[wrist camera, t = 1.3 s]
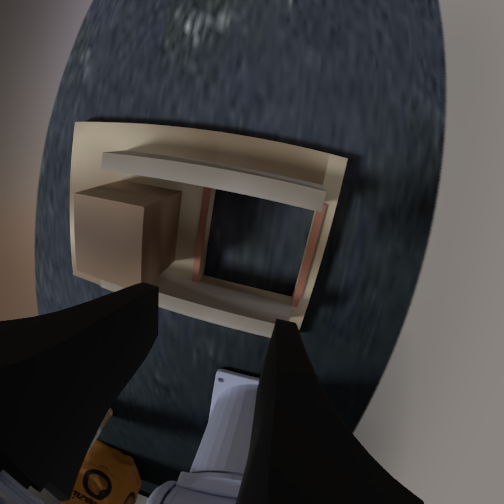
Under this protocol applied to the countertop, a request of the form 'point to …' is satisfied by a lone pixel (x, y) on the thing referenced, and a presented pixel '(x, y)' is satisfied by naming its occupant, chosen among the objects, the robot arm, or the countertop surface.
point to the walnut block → (126, 231)
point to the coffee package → (106, 478)
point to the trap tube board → (201, 206)
